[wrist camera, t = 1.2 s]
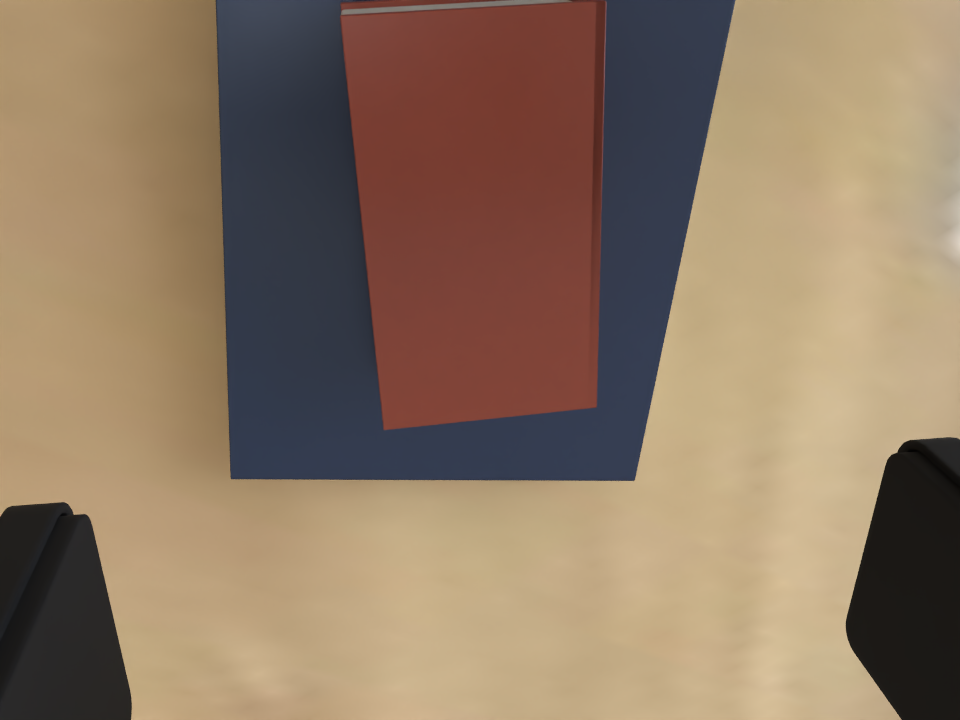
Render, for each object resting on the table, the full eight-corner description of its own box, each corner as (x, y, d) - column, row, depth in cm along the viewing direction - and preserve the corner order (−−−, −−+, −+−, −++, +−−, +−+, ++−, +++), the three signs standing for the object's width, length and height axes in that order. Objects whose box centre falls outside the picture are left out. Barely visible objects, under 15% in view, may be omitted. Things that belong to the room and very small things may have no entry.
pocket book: (571, -11, 24) (607, 0, 20) (569, 353, 29) (597, 408, 25) (340, 2, 23) (339, 15, 20) (379, 372, 28) (383, 430, 25)
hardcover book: (730, -158, 25) (770, -165, 23) (614, 442, 34) (634, 481, 31) (222, -226, 23) (207, -242, 20) (239, 438, 31) (230, 479, 29)
